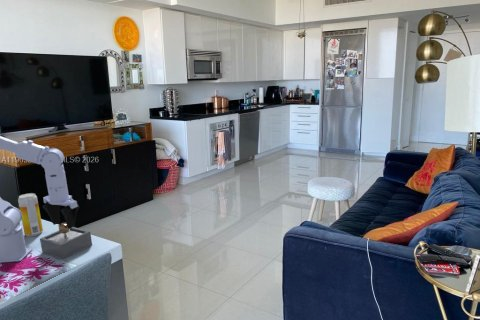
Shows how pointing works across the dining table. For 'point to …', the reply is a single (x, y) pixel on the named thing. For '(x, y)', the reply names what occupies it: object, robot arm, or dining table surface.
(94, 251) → the dining table surface
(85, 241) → the grey square open box
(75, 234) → the plunger
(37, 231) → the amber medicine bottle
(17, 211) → the robot arm
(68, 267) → the dining table surface
